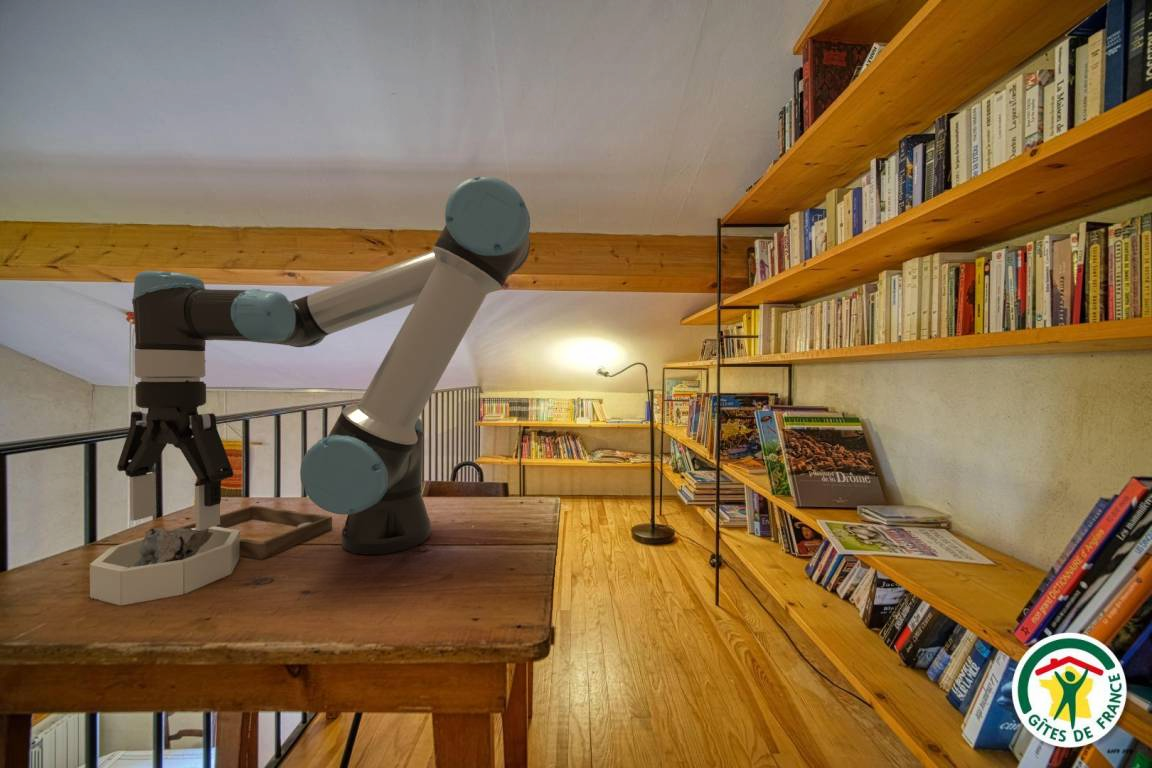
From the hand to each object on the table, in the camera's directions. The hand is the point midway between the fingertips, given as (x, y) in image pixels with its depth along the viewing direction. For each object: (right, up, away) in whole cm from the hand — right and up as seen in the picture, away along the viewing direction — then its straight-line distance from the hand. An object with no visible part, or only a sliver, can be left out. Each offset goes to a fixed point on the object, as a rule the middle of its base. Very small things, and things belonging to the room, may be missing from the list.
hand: (174, 522), depth 63 cm
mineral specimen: (0, -7, 0) cm, 7 cm away
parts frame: (+1, -8, +15) cm, 17 cm away
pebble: (+8, -8, +18) cm, 21 cm away
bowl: (-1, -8, 0) cm, 8 cm away
